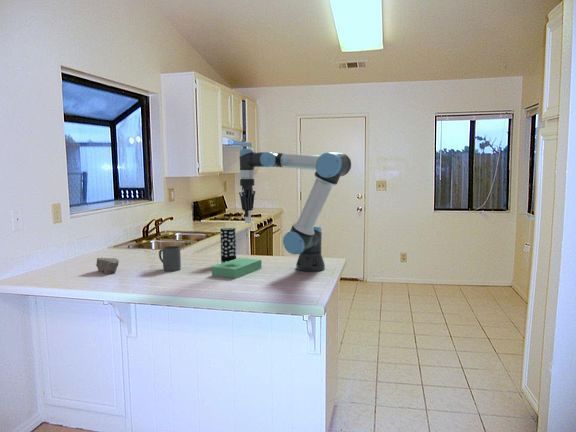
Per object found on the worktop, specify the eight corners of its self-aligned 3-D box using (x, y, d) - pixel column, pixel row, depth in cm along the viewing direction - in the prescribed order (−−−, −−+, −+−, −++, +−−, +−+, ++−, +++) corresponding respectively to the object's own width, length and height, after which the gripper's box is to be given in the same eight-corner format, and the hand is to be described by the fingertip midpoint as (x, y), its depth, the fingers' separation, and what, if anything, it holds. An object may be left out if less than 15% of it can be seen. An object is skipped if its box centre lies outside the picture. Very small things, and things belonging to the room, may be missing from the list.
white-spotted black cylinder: (233, 266, 251) (232, 229, 249) (219, 265, 253) (218, 229, 251) (238, 262, 259) (237, 227, 257) (224, 262, 261) (223, 227, 259)
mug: (184, 268, 245) (183, 246, 244) (172, 272, 237) (171, 249, 236) (165, 266, 252) (165, 244, 251) (153, 269, 244) (152, 247, 243)
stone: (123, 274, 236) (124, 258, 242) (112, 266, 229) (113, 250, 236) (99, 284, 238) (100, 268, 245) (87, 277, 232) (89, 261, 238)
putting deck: (261, 268, 245) (261, 259, 244) (235, 278, 223) (235, 269, 222) (239, 266, 251) (239, 257, 251) (212, 275, 229) (211, 266, 228)
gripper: (247, 178, 249) (248, 221, 251) (234, 178, 237) (235, 223, 240) (259, 178, 246) (260, 221, 248) (246, 178, 234) (247, 224, 237)
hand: (247, 222), depth 244 cm, fingers closed
